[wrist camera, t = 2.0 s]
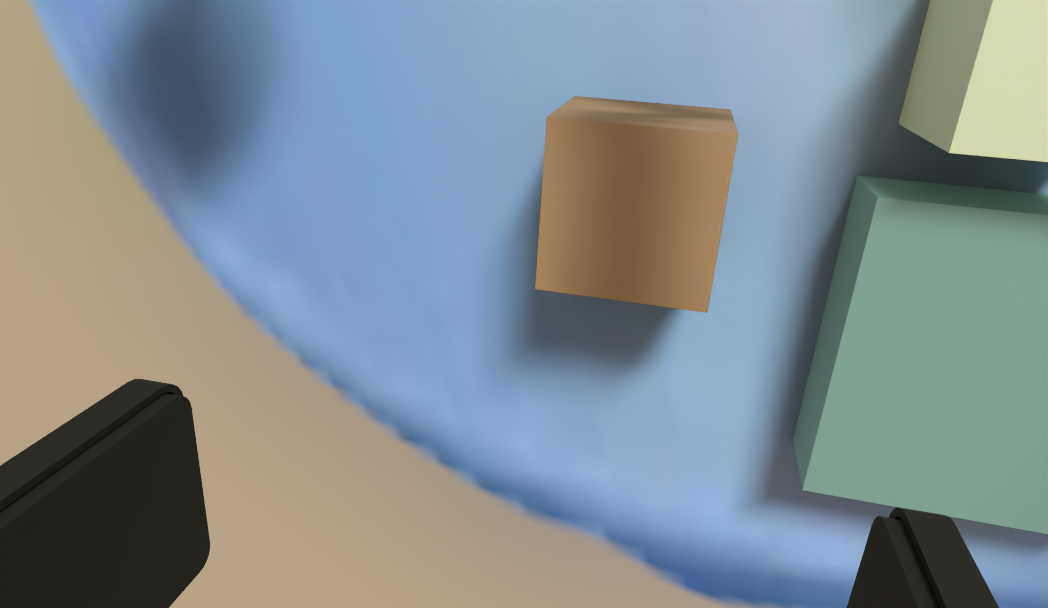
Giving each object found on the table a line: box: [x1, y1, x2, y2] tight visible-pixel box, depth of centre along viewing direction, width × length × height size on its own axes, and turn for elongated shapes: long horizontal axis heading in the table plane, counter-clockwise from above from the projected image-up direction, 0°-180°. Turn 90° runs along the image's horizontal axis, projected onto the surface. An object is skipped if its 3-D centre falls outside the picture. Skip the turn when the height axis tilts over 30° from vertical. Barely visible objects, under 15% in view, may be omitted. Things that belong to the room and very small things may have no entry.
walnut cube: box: [535, 96, 738, 313], centre depth 26 cm, size 6×6×6 cm
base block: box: [792, 175, 1048, 534], centre depth 27 cm, size 12×12×4 cm
